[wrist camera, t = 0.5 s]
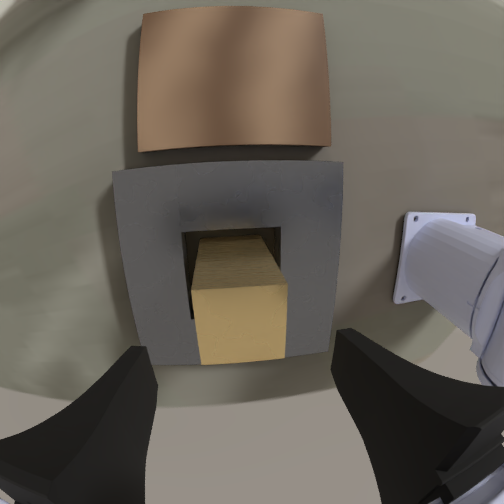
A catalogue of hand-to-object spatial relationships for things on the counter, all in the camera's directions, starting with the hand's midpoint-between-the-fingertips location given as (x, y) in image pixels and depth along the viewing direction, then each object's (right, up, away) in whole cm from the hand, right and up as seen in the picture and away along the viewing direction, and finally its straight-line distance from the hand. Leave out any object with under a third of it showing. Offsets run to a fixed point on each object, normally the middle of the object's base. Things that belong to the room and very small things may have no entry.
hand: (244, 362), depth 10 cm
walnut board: (-1, +16, +6) cm, 17 cm away
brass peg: (-1, +3, +10) cm, 10 cm away
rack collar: (-1, +3, +10) cm, 10 cm away
